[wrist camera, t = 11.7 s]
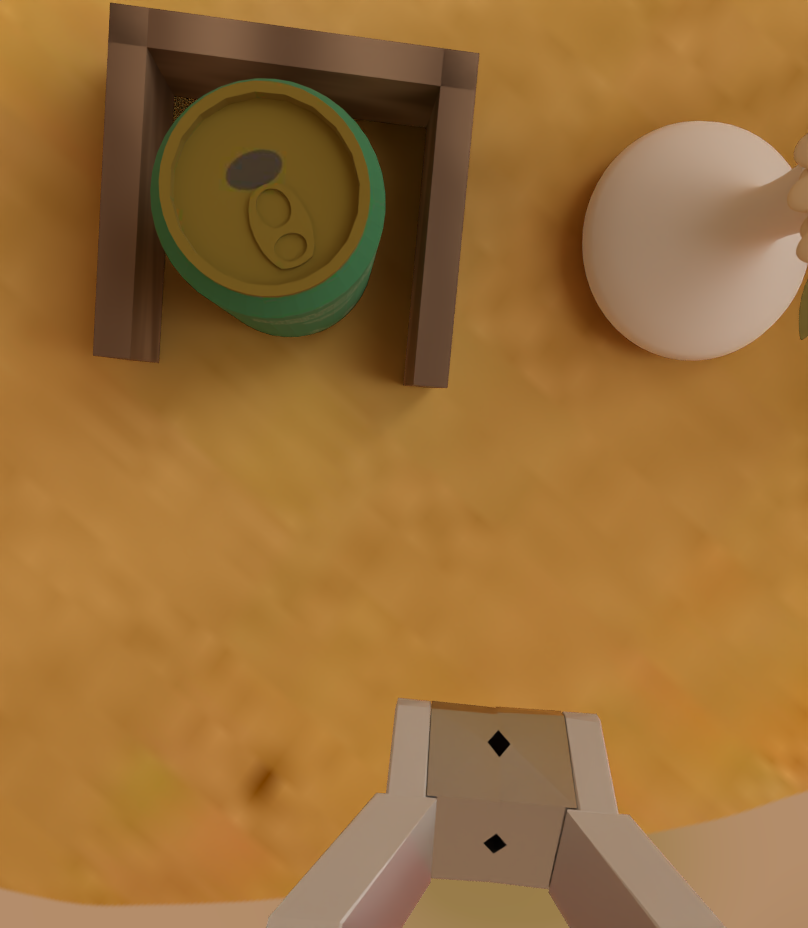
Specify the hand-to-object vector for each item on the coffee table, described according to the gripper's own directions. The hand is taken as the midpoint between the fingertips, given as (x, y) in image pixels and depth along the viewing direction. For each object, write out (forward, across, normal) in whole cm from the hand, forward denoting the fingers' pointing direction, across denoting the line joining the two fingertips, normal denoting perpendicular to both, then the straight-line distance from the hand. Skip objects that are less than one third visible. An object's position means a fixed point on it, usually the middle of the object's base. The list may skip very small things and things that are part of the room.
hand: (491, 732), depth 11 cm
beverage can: (+28, +9, 0) cm, 29 cm away
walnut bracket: (+28, +9, -1) cm, 30 cm away
